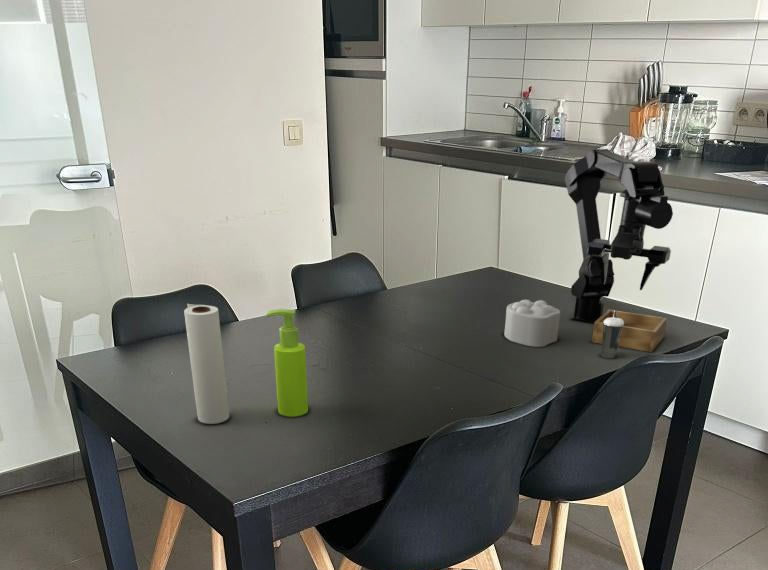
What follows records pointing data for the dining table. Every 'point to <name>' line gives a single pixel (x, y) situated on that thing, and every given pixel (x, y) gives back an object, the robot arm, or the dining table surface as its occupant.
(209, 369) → the paper towel roll
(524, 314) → the lumpy-topped squat cylinder
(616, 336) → the silver capped cylinder
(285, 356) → the soap dispenser
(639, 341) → the crate
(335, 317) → the dining table surface
